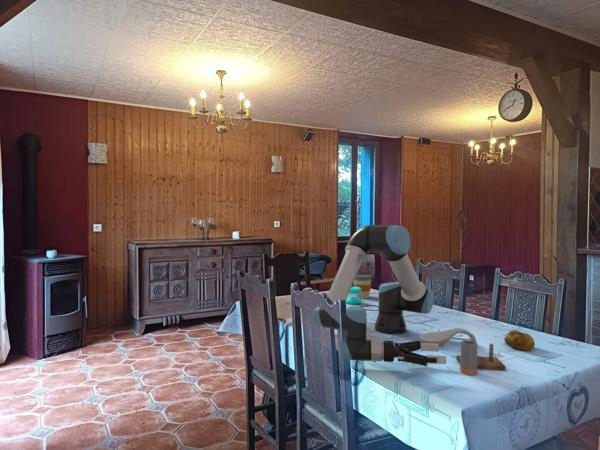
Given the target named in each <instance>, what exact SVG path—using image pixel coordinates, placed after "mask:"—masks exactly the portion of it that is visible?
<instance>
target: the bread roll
mask: <svg viewBox="0 0 600 450" xmlns="http://www.w3.org/2000/svg"><path fill="white" fill-rule="evenodd" d="M503 340H504V343H505V344H506V345H508V346H509V347H511V348H513V349H515V350H518V351H524V352H525V351H531V350H533V349H534V348H535V346H536V342H535V339H534V338H533V336H531V335H530V334H529V333H526V332H521V331H519V330H516V329H513V330H510V331H508V332H507V334H506V335H505V336H504V339H503Z"/></svg>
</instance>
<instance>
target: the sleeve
mask: <svg viewBox="0 0 600 450" xmlns="http://www.w3.org/2000/svg"><path fill="white" fill-rule="evenodd" d="M460 356H461V365H460V364H459V365H460V366H459V368H460V369H459V371H460V373H461V374H463V375H466V376H476V375H478V369H477V356H478V343H477V341H476V342H475V341H471V339H470V340H469V339H468V340H467V339H464V340H461V341H460Z"/></svg>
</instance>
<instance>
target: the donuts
mask: <svg viewBox="0 0 600 450" xmlns="http://www.w3.org/2000/svg"><path fill="white" fill-rule="evenodd" d="M360 292H361V288H359V287H354V286H351V289H350V291H349V294H350V295H351V294H352V295H355V294H358V293H360ZM346 302H347V303H346ZM345 303H346V304H348V305H359V304H361V303H362V299H361V298H358V297H356V296H347V299H346V301H345Z"/></svg>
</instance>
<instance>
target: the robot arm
mask: <svg viewBox="0 0 600 450" xmlns="http://www.w3.org/2000/svg"><path fill="white" fill-rule="evenodd" d="M410 248H411V235H410V232H409V231H408V229H407V228H406V227H404V226H402V225H396V224H391V225H390V224H389V225H388V224H387V225H386V224H367V225H364V226H362V227H361V228H359V229H358V230H356V232H354V234H353V235H352V236H351V237H350V238H349V239H348V241H347V244H346V245H345V248H344V251H345V254H344V256H343V259H342V261H341V264H340V266H339V268H338V270H337V272H336V275H335V277H334V279H333V282H332V284H331V287H330V289H329V291H328V293H327V295H326V298H327V297H329V299H330V300H331V301H332V302H333V303H334V302H335V301H336V300H340V299H344V300H345V302H346V299H347V298H348V297H349V294H350V293H349V291H350V289H351V287H353V285H354V284H353V283H354V279H355V277H356V274H358V271H359V270H360V267H361V265H362V261H363V260H364V259H366V258H367V256H368V254H369V253H378V254H380V255H381V257H382V259H383V260H384V261H386V262H388V263H389V266H390V267H391V269H392V272H393V274H394V275H395V277H396V279H397V281H395V282H394V281H393V282H385V283H381V284H380V285H379V287H378V292H377V293H378V314H377V318H376V320H375V323H374V329H375V331H377V332H379V333H385V334H402V333H406V332H407V324H406V321H405V318H404V312H411V313H417V314H420V315H421V314H424V315H427V314H429V313H431V312H432V309H433V307H434V306H433V305H434V302H435V301H434V300H435V294H434V290H433V289H431V288H427V287H426V285H425V284H424V282H423V281H420V280H419V278H418V275H417V273H416V271H415V268H414V266H413V264H412V261H411V259H410V257H409V255H408V253H409V251H410ZM345 311H346V316H345V318H344V320H343V323H342V326H343V328H344V330H345V331H344V332H345V338H346V339H345V338H344V339H345V340H342V339H341V340H340V357H341V359H342V360H347V361H361V362H363V361H365V362H373V363H376V362H382V361H383V362H384V363H393V362H394V361H395V358H397V361H398V362H404V363H409V364H413V365H418V366H419V365H420V366H424V367H427V366H428V364H433V365H447V355H433V354H426V355H423V354H419V353H415V352H416V351H421V352H435V353H436V352H439V349H440V347H439V344H427V343H424V342H421V340H415V341H414V340H413V341H405V342H394V341H393V340H383V341H382V340H381V339H367V327H368V326H367V323H368V319H367V310H366V309H365V308H364V307H362V306H356V305H355V306H349V307H347V308H346V310H345ZM312 322H313V323H314V325H316V326H319V327H322V328H326V329H327V328H328V329H332V328H333V330H337V329H339V327H340V325H339V323H338V322H337V321H335V319H333V318H332V317H331V316H330V315H329V314H328V313H327V312H326V311H325V310H324V309H321V308H320V307H319V306H317V307H316V308H315V309H314V310H313V311H312Z"/></svg>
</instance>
